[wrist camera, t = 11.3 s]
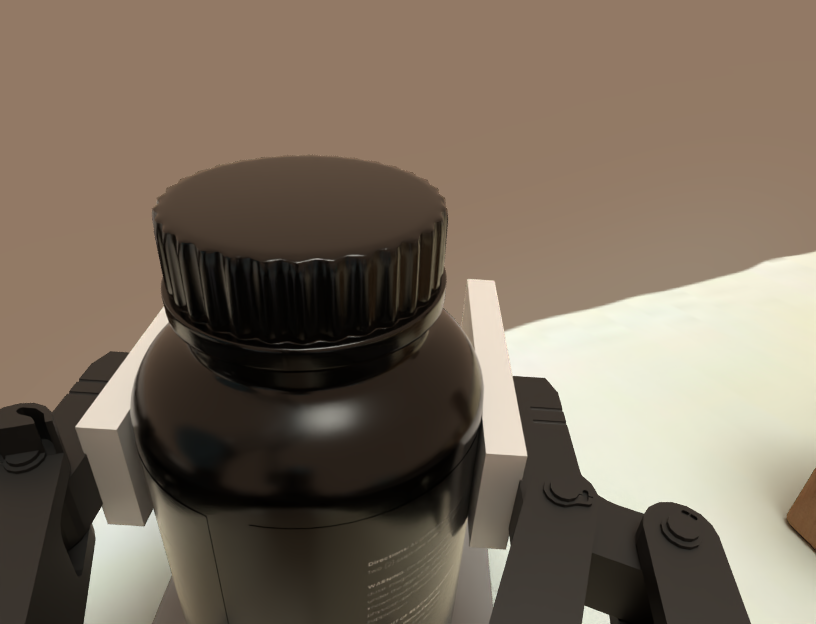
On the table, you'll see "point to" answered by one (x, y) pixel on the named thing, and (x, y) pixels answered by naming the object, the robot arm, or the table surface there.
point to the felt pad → (469, 602)
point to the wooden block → (805, 511)
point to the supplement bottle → (308, 396)
